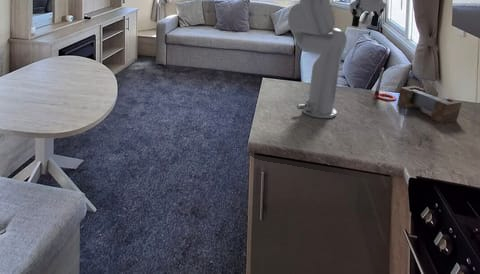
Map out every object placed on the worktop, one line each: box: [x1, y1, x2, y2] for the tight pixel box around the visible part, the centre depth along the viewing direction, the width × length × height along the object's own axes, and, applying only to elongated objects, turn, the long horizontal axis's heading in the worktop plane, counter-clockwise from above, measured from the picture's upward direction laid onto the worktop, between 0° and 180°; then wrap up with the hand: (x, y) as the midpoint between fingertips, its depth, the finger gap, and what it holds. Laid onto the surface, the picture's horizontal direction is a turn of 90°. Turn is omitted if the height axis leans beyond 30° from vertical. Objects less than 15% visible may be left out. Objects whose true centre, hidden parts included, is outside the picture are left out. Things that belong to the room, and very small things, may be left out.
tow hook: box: [373, 67, 397, 102], centre depth 168 cm, size 8×13×9 cm
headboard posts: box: [397, 85, 463, 124], centre depth 154 cm, size 22×8×8 cm, turn 26°
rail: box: [411, 89, 449, 112], centre depth 154 cm, size 17×3×5 cm, turn 26°
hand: (364, 26), depth 155 cm, fingers open, 9 cm apart
